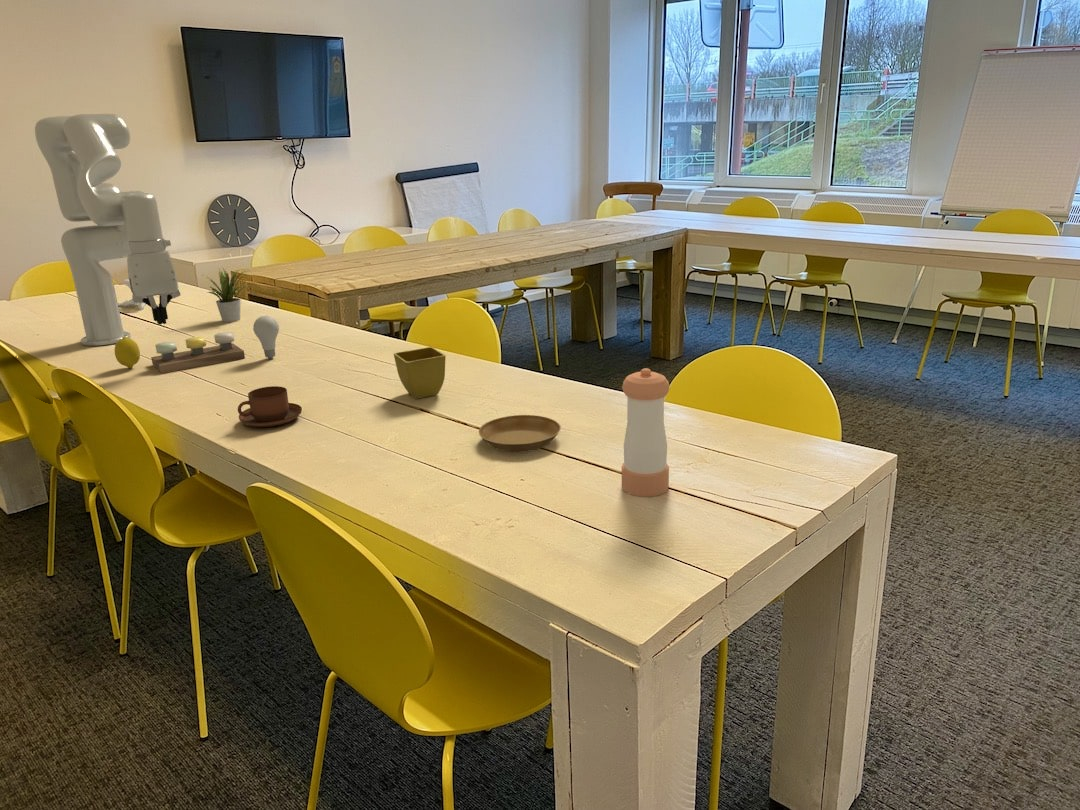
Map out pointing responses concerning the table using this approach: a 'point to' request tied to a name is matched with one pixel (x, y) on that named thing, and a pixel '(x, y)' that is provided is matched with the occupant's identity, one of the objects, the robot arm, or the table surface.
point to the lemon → (127, 352)
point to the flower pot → (421, 371)
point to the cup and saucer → (268, 407)
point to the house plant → (228, 297)
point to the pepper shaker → (645, 435)
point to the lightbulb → (267, 334)
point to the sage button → (166, 350)
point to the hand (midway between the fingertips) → (161, 323)
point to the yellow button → (196, 345)
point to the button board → (197, 358)
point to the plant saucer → (519, 432)
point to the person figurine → (131, 302)
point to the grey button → (224, 340)
